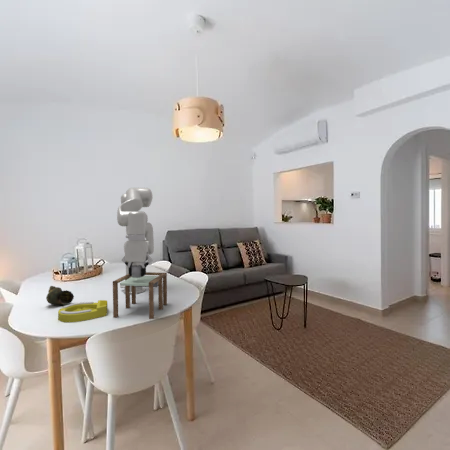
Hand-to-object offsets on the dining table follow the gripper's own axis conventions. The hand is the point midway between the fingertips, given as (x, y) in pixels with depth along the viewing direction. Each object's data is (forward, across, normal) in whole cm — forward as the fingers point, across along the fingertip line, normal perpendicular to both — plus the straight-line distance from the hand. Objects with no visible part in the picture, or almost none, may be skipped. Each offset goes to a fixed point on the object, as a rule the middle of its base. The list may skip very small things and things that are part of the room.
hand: (137, 275), depth 135 cm
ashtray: (+19, -25, -4) cm, 32 cm away
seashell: (+19, -46, +7) cm, 50 cm away
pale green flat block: (+8, 0, +4) cm, 9 cm away
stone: (+1, 0, 0) cm, 1 cm away
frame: (+19, 0, +4) cm, 19 cm away
